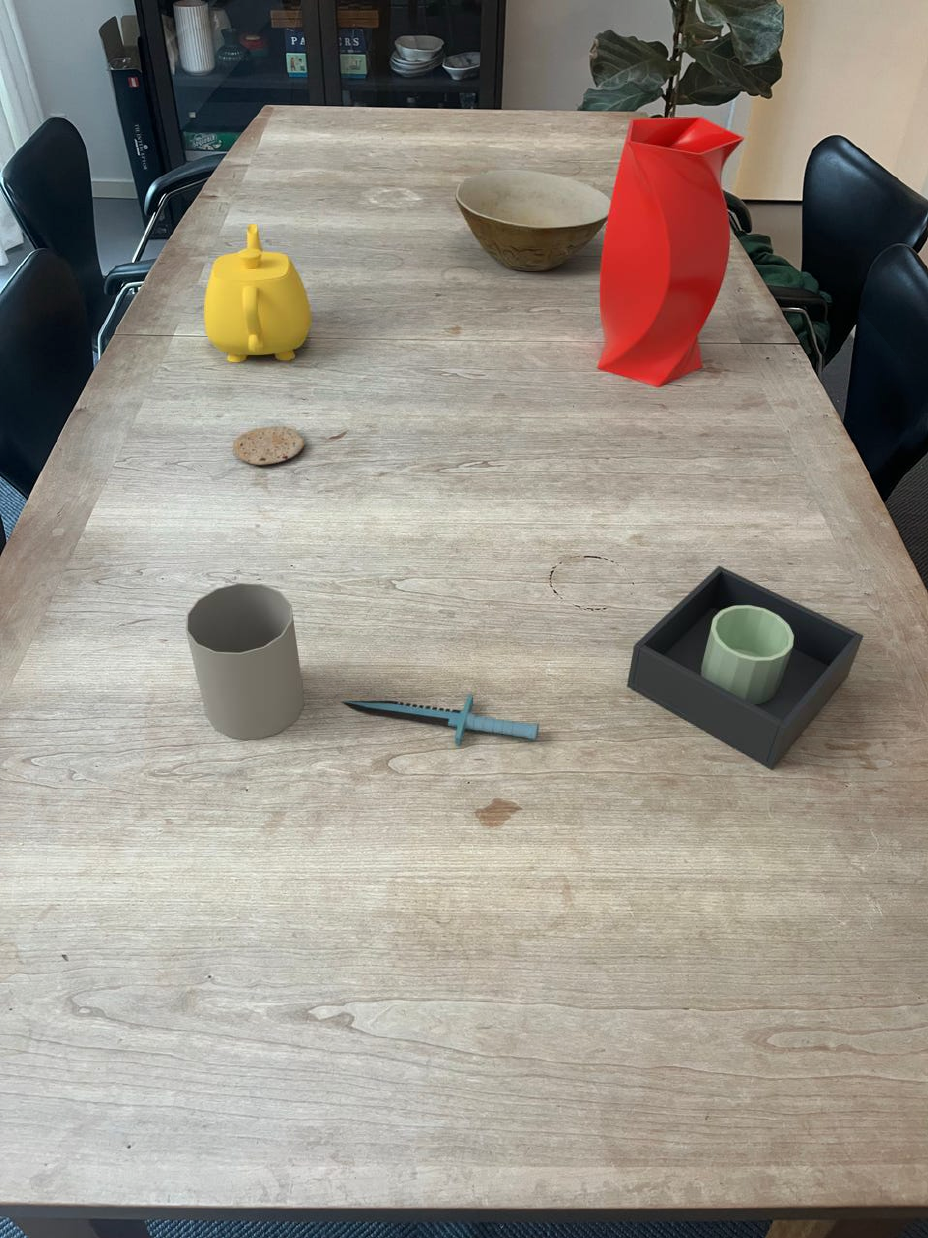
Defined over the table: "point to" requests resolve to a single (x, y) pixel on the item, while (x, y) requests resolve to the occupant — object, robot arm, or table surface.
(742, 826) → the table surface
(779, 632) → the green tumbler
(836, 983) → the table surface
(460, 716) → the knife
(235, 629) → the cup
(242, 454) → the flatbread
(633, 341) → the vase
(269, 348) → the teapot
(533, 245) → the bowl
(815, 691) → the dish tub
